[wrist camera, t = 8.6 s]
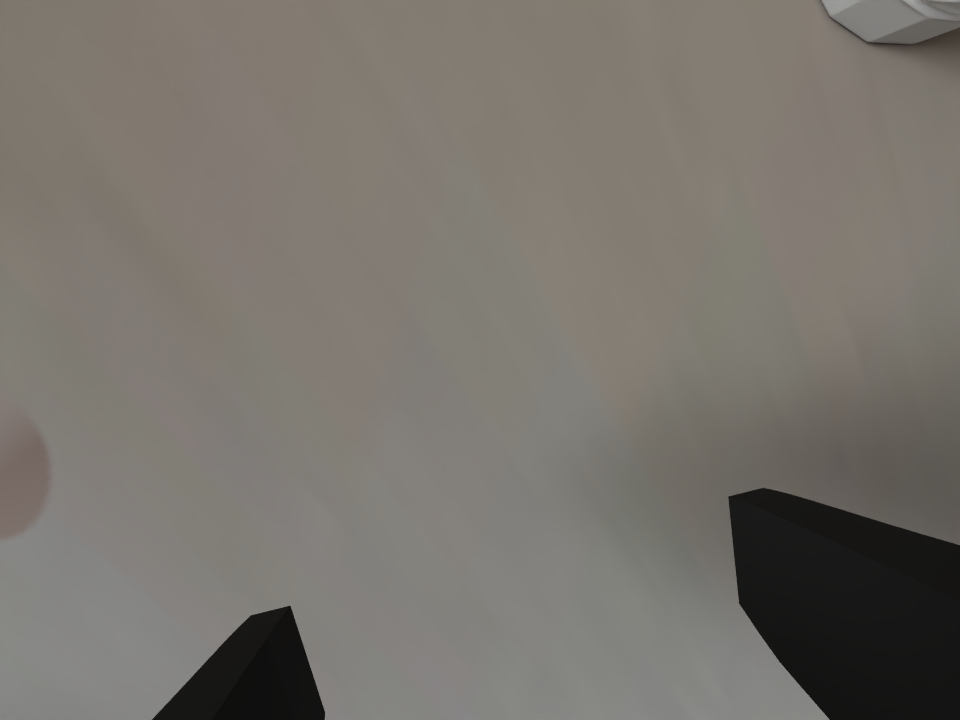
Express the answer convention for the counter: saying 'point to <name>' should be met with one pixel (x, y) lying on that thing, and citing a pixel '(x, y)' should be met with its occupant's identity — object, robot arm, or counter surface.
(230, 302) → the counter surface
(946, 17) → the white cup
